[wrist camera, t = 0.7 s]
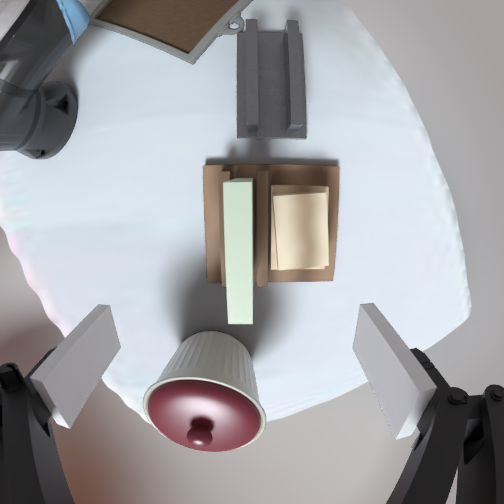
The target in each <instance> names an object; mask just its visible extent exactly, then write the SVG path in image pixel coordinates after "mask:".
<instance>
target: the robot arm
mask: <svg viewBox="0 0 504 504" xmlns="http://www.w3.org/2000/svg"><path fill="white" fill-rule="evenodd" d="M89 22H90V17H89V14H88V12H87V11H86V9H85V8H84V7H83V5H82V4H81V3H80V2H79V1H78V0H0V151H11V150H15V151H17V152H19V153H21V154H23V155H25V156H27V157H29V158H32V159H47V158H50V157H52V156H54V155H55V154H57V153H58V152H59V151H60V150H61V149H62V148H63V147H64V145H65V144H66V143H67V141H68V139H69V138H70V136H71V133H72V131H73V128H74V125H75V122H76V117H77V100H76V96H75V94H74V92H73V90H72V89H71V88H70V87H69V86H67V85H65V84H62V83H59V82H47V83H43V81H44V80H45V78H46V77H47V76H48V74H49V73H50V72H51V70H52V69H53V68H54V66H55V65H56V64H57V62H58V61H59V60H60V59H61V57H62V56H63V55H64V54H65V53H66V51H67V50H68V49H69V48H70V47H71V46H73V45H74V44H75V41H76V40H77V39H78V37H79V36H80V35H81V34H82V33H83V32H84V31H85V29H86V28H87V27H88V25H89ZM120 348H121V345H120V342H119V339H118V335H117V331H116V328H115V324H114V320H113V316H112V312H111V308H110V305H100V304H98V305H97V306H96V307H95V308H94V309H93V310H92V311H91V312H90V313H89V314H88V315H87V316H86V317H85V318H84V319H83V320H82V321H81V322H80V323H79V324H78V326H77V327H76V328H75V329H74V330H73V331H72V332H71V333H70V334H69V335H68V336H67V337H66V338H65V339H64V340H63V341H62V342H61V343H60V344H59V346H56V347H55V348H53V349H51V350H50V351H49V352H48V353H47V354H46V355H45V356H44V357H43V358H42V359H41V360H40V361H39V363H38V364H37V365H36V366H35V367H34V368H33V369H32V370H31V371H30V372H29V374H28V375H27V376H26V377H25V378H23V376H22V374H21V372H20V370H19V368H18V366H17V365H16V364H15V363H6V364H3V365H1V366H0V385H1V386H0V504H75V503H74V500H73V498H72V495H71V493H70V490H69V487H68V484H67V481H66V478H65V475H64V472H63V469H62V465H61V462H60V459H59V455H58V451H57V447H56V443H55V439H54V435H53V430H52V426H51V423H50V421H49V418H50V417H51V415H52V416H53V418H54V419H55V421H56V423H57V424H59V425H62V426H64V427H67V428H71V426H72V424H73V422H74V421H75V419H76V417H77V416H78V414H79V412H80V410H81V409H82V407H83V406H84V404H85V402H86V401H87V399H88V397H89V396H90V394H91V393H92V391H93V389H94V388H95V386H96V384H97V383H98V381H99V380H100V378H101V377H102V375H103V374H104V372H105V370H106V369H107V367H108V366H109V364H110V363H111V361H112V360H113V358H114V357H115V355H116V354H117V352H118V351H119V349H120ZM352 348H353V350H354V352H355V354H356V356H357V358H358V360H359V362H360V364H361V366H362V368H363V370H364V373H365V375H366V377H367V379H368V381H369V383H370V385H371V387H372V389H373V391H374V394H375V395H376V398H377V400H378V402H379V404H380V407H381V409H382V411H383V413H384V415H385V417H386V420H387V422H388V424H389V427H390V429H391V431H392V433H393V436H394V438H395V440H396V439H399V438H403V437H406V436H409V435H412V433H413V431H414V430H415V428H416V426H417V427H418V429H419V431H420V434H419V435H418V437H417V438H416V440H415V441H414V443H413V444H412V446H411V448H413V449H412V452H411V454H410V456H409V459H408V461H407V463H406V465H405V468H404V470H403V472H402V474H401V476H400V478H399V480H398V482H397V484H396V486H395V488H394V490H393V492H392V494H391V496H390V497H389V499H388V501H387V503H386V504H445V503H446V501H447V498H448V495H449V493H450V489H451V487H452V484H453V480H454V477H455V474H456V470H457V467H458V478H457V494H456V504H504V388H503V387H501V386H499V385H490V386H488V387H487V388H486V389H485V391H484V393H483V395H476V396H475V395H474V396H469V395H468V394H467V393H466V392H465V391H464V390H462V389H460V388H456V387H450V386H449V385H448V383H447V382H446V381H445V379H444V378H443V377H442V375H441V374H440V373H439V371H438V370H437V369H436V368H435V366H434V365H433V363H432V362H430V360H429V359H428V357H427V356H426V355H425V353H423V352H422V351H420V350H418V349H417V348H414V349H409V348H408V347H407V345H406V344H405V343H404V341H403V340H402V339H401V337H400V336H399V335H398V334H397V332H396V331H395V330H394V328H393V327H392V326H391V325H390V323H389V322H388V321H387V319H386V318H385V317H384V316H383V314H382V313H381V312H380V311H379V309H378V308H377V307H376V306H375V304H374V303H368V304H360V308H359V314H358V320H357V326H356V332H355V337H354V342H353V347H352Z"/></svg>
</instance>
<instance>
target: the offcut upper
mask: <svg viewBox="0 0 504 504" xmlns="http://www.w3.org/2000/svg"><path fill="white" fill-rule="evenodd" d="M272 203H273V215H274V228H275V241H276V254H277V266H278V270H288V269H299V268H310V267H320V266H329V248H328V215H327V195H326V192H323V191H318V192H302V193H287V194H274V195H272Z"/></svg>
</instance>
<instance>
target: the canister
mask: <svg viewBox="0 0 504 504" xmlns="http://www.w3.org/2000/svg"><path fill="white" fill-rule="evenodd" d="M143 409H144V412H145V415H146V417H147V419H148V420H149V422H150V423H151V424H152V425H153V426H154V427H155V428H156V429H157V430H158V431H159V432H160V433H161V434H163V435H164V436H166V437H167V438H169V439H171V440H173V441H174V442H176V443H178V444H180V445H183V446H185V447H188V448H192V449H196V450H201V451H211V452H219V451H227V450H234V449H238V448H241V447H244V446H246V445H249V444H250V443H252V442H254V441H255V440H256V439H258V438H259V437H260V435H261V434H262V433H263V431H264V429H265V426H266V415H265V412H264V409H263V408H262V406H261V405H260V402H259V397H258V391H257V385H256V379H255V374H254V369H253V364H252V360H251V357H250V355H249V352H248V351H247V350H246V347H245V346H244V345H243V344H242V343H241V342H240V341H238V340H237V339H236V338H234V337H233V336H230V335H228V334H225V333H222V332H217V331H204V332H199V333H197V334H194V335H192V336H191V337H188V338H187V339H186V340H185V341H184V342H183V343H182V344H181V345H180V347H179V348H178V349H177V351H176V352H175V354H174V355H173V357H172V358H171V360H170V361H169V363H168V364H167V366H166V368H165V369H164V371H163V373H162V374H161V376H160V377H159V379H158V380H157V382H156V383H154V384H153V385H151V386H150V387H149V388H148V390H147V391H146V393H145V395H144V398H143Z"/></svg>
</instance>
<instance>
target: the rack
mask: <svg viewBox="0 0 504 504" xmlns="http://www.w3.org/2000/svg"><path fill="white" fill-rule="evenodd" d="M235 178H253V249H254V278H253V282H257V287H263V286H268V282H316V281H333V275H334V264H335V252H336V238H337V222H338V200H339V167H335V166H317V165H287V164H235V165H205V166H203V193H204V221H205V243H206V261H207V277H208V282H222V286H226V266H225V238H224V201H223V182H226V181H229V180H232V179H235ZM270 185H311V186H327V187H329V198H328V248H329V266H325V269H288V270H271V268H270Z"/></svg>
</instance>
